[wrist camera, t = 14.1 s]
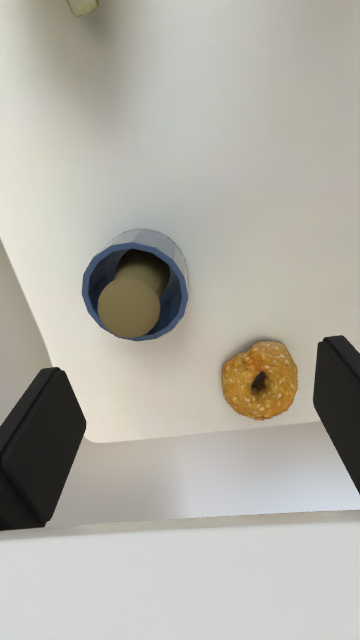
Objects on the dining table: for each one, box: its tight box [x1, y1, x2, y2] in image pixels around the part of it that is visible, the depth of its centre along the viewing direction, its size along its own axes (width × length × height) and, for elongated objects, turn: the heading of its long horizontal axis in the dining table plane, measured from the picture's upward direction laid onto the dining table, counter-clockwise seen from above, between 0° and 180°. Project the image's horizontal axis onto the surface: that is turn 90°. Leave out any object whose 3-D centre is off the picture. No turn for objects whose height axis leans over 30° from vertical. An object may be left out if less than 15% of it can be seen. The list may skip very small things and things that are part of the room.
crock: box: [82, 229, 188, 341], centre depth 30 cm, size 10×10×7 cm
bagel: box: [222, 341, 298, 420], centre depth 37 cm, size 10×11×5 cm
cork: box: [98, 249, 170, 338], centre depth 28 cm, size 6×6×11 cm
